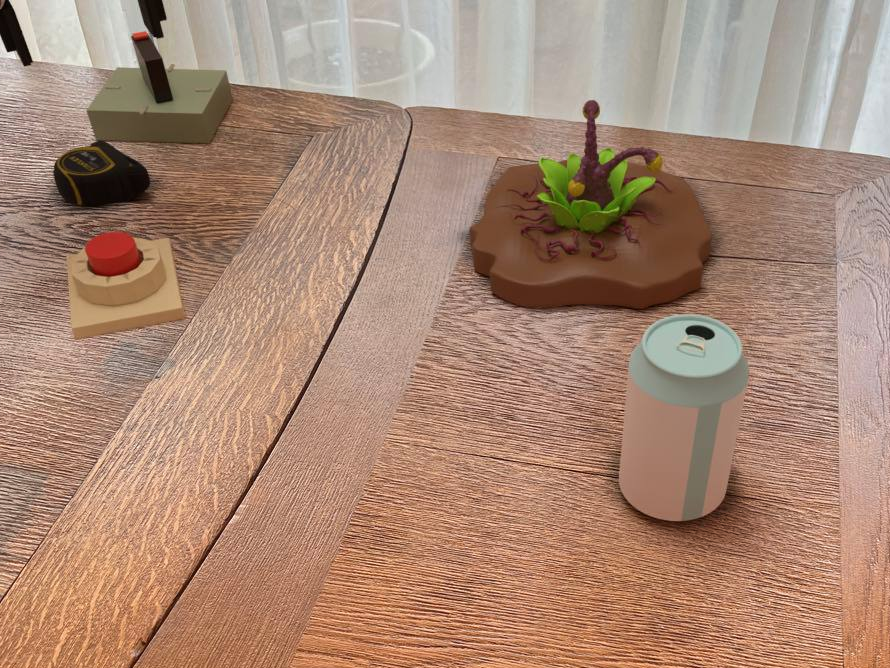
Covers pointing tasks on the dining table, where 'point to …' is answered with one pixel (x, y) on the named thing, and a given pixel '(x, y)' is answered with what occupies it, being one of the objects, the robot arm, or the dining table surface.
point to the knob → (152, 67)
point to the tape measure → (99, 175)
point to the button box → (124, 292)
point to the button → (112, 254)
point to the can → (682, 417)
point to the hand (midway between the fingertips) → (91, 45)
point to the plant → (591, 230)
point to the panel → (161, 107)
